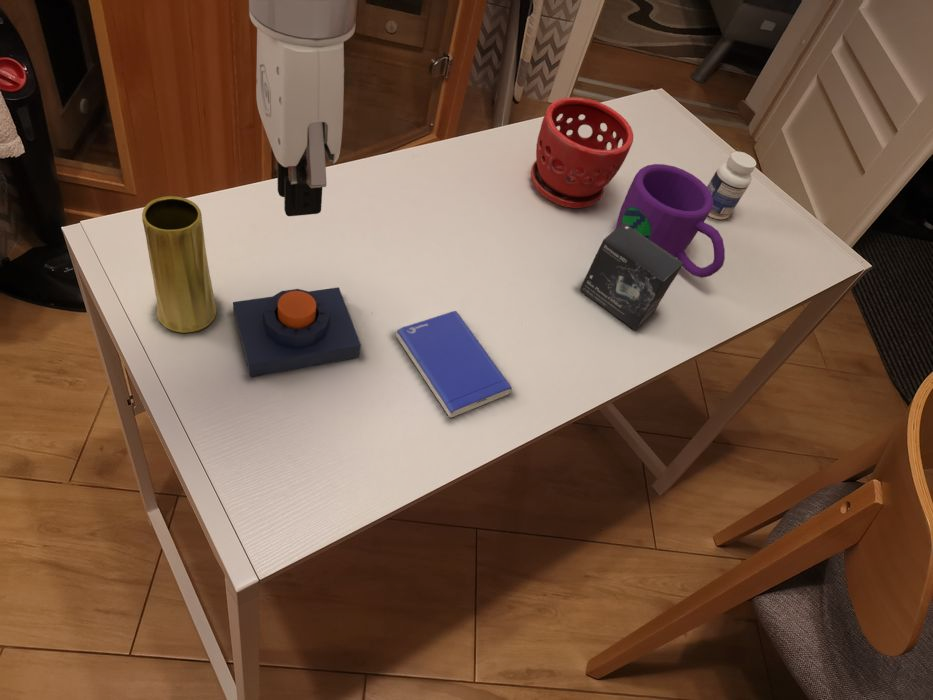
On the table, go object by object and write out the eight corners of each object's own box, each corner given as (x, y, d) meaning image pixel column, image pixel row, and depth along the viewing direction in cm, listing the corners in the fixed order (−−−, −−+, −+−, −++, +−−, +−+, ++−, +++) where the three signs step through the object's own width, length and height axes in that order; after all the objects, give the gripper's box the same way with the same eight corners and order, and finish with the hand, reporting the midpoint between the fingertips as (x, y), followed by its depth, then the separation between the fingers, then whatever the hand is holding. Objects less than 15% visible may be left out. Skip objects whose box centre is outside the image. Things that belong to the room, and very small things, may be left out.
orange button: (282, 331, 72) (282, 320, 71) (274, 304, 75) (274, 293, 73) (319, 325, 74) (320, 315, 73) (310, 299, 76) (311, 288, 75)
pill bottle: (699, 194, 112) (728, 143, 105) (730, 206, 112) (762, 157, 105) (695, 212, 109) (725, 161, 101) (727, 225, 108) (759, 174, 101)
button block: (249, 377, 72) (248, 353, 69) (233, 314, 77) (231, 290, 74) (359, 357, 77) (362, 334, 74) (337, 299, 82) (339, 276, 79)
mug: (594, 227, 101) (619, 172, 93) (645, 209, 106) (673, 155, 99) (676, 307, 93) (711, 253, 86) (727, 283, 99) (764, 230, 91)
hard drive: (397, 328, 79) (451, 410, 73) (456, 309, 82) (513, 386, 77) (395, 337, 80) (448, 419, 74) (454, 317, 84) (509, 394, 78)
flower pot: (507, 172, 105) (528, 102, 96) (571, 157, 111) (596, 90, 102) (557, 226, 99) (584, 157, 90) (621, 207, 106) (653, 141, 96)
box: (577, 291, 91) (602, 237, 84) (599, 272, 95) (624, 220, 87) (633, 332, 89) (664, 281, 81) (654, 312, 92) (685, 261, 85)
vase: (225, 323, 76) (215, 225, 65) (169, 340, 73) (149, 241, 62) (204, 286, 79) (191, 187, 68) (149, 302, 76) (127, 200, 65)
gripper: (228, -53, 52) (240, 153, 65) (274, 60, 43) (277, 269, 57) (326, -47, 54) (317, 148, 68) (388, 59, 46) (363, 258, 60)
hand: (299, 202), depth 63 cm, fingers closed
